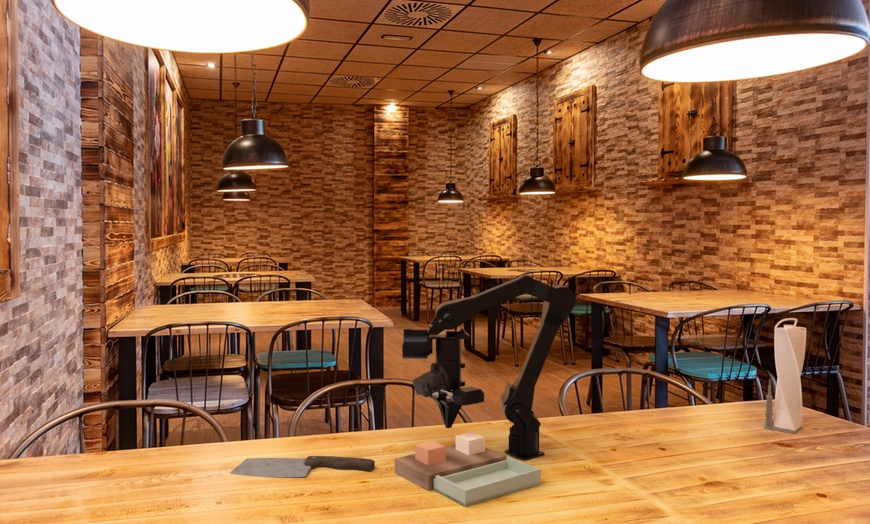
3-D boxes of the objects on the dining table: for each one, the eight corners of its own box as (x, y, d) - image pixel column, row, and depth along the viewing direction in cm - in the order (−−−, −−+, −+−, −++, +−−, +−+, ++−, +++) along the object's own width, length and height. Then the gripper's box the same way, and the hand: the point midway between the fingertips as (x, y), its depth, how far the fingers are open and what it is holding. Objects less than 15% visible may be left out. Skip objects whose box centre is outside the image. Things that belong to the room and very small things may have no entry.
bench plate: (470, 454, 149) (470, 441, 149) (506, 469, 140) (506, 455, 140) (394, 472, 138) (394, 458, 138) (428, 490, 128) (428, 475, 128)
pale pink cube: (471, 445, 146) (471, 432, 146) (485, 451, 142) (485, 437, 142) (455, 449, 143) (455, 435, 143) (468, 455, 140) (468, 441, 140)
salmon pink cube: (432, 454, 140) (433, 440, 140) (445, 460, 136) (445, 446, 136) (415, 459, 137) (415, 444, 137) (427, 465, 134) (427, 450, 133)
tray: (507, 470, 139) (507, 455, 139) (540, 484, 132) (540, 469, 131) (433, 490, 128) (433, 474, 128) (465, 507, 120) (465, 490, 120)
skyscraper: (774, 421, 177) (776, 316, 175) (808, 427, 171) (811, 319, 170) (763, 428, 170) (766, 319, 169) (798, 434, 165) (801, 322, 164)
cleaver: (376, 464, 144) (376, 454, 143) (370, 481, 134) (369, 470, 134) (242, 463, 145) (242, 453, 145) (226, 479, 135) (225, 469, 135)
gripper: (395, 356, 151) (395, 424, 152) (444, 369, 136) (444, 445, 137) (435, 351, 158) (435, 416, 159) (486, 363, 143) (485, 435, 144)
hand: (448, 427), depth 149 cm, fingers closed
